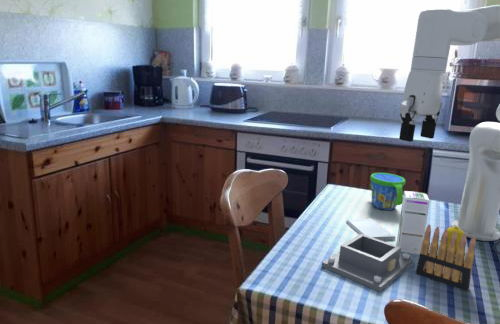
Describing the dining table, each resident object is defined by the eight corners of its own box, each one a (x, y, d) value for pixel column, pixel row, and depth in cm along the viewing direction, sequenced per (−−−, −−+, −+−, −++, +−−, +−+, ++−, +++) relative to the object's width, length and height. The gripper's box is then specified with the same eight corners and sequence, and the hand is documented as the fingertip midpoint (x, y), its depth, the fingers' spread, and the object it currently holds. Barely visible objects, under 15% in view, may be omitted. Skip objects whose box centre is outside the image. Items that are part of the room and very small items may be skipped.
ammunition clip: (415, 273, 93) (423, 224, 90) (417, 270, 94) (426, 221, 91) (467, 291, 87) (478, 239, 84) (469, 288, 88) (480, 236, 85)
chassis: (359, 243, 106) (361, 226, 105) (413, 263, 97) (416, 245, 96) (321, 266, 93) (323, 247, 92) (379, 292, 84) (383, 271, 83)
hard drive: (396, 236, 110) (372, 218, 121) (368, 237, 108) (346, 219, 119) (395, 241, 110) (371, 223, 122) (367, 243, 108) (346, 224, 120)
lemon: (463, 255, 103) (469, 225, 101) (461, 264, 99) (468, 233, 97) (439, 249, 106) (445, 220, 104) (436, 257, 101) (442, 227, 99)
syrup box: (421, 255, 102) (431, 200, 98) (396, 251, 103) (405, 196, 99) (419, 246, 107) (428, 193, 103) (395, 242, 108) (403, 189, 105)
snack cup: (410, 216, 128) (415, 184, 125) (378, 215, 126) (383, 184, 124) (387, 198, 143) (392, 170, 140) (359, 198, 141) (362, 170, 139)
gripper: (431, 66, 103) (420, 133, 107) (393, 63, 92) (382, 138, 96) (462, 68, 97) (448, 139, 102) (425, 65, 86) (412, 145, 91)
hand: (416, 139), depth 99 cm, fingers open, 9 cm apart
